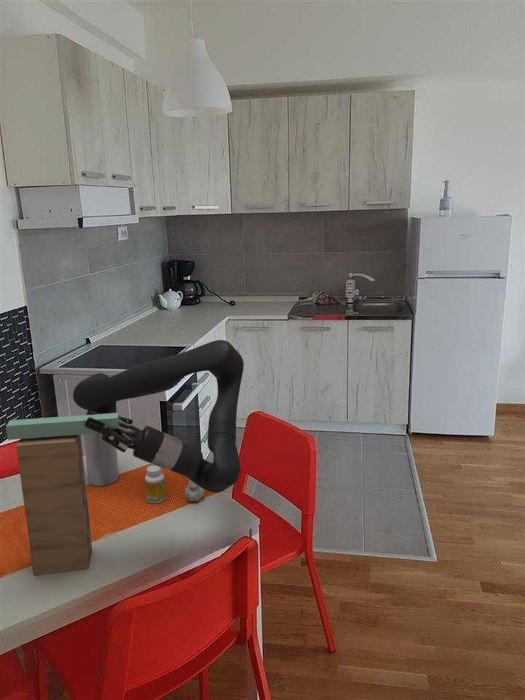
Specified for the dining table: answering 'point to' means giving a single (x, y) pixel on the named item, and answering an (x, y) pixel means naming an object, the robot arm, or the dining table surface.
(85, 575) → the dining table surface
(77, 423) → the rod
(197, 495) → the grey rounded piece
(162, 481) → the supplement bottle
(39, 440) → the stand
